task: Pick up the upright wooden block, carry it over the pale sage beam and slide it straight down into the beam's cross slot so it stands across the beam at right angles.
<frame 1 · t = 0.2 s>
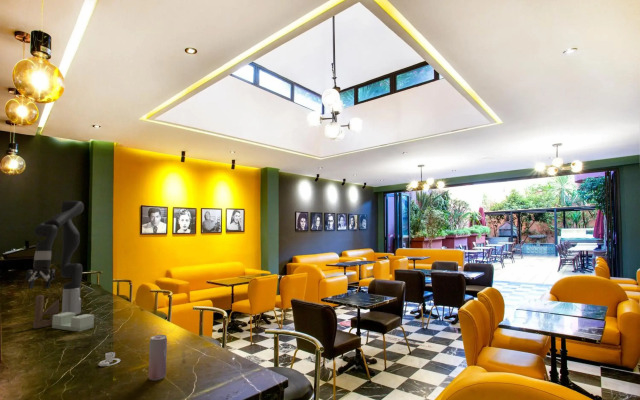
hand: (39, 288, 187), 23 cm above the countertop, tool pointing down, fingers open, 8 cm apart
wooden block: (45, 326, 193), on the countertop
beverage can: (157, 378, 127), on the countertop
slotted beam: (72, 327, 190), on the countertop
teacup and saucer: (100, 365, 140), on the countertop
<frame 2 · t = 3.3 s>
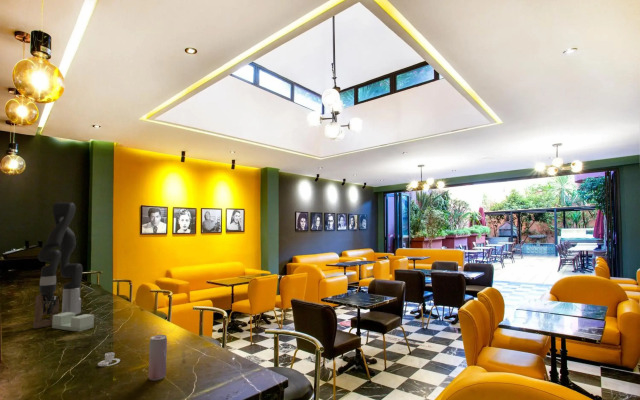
hand: (46, 313, 194), 7 cm above the countertop, tool pointing down, fingers closed on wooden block, 4 cm apart
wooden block: (45, 326, 193), on the countertop, touching gripper
everything else where it was.
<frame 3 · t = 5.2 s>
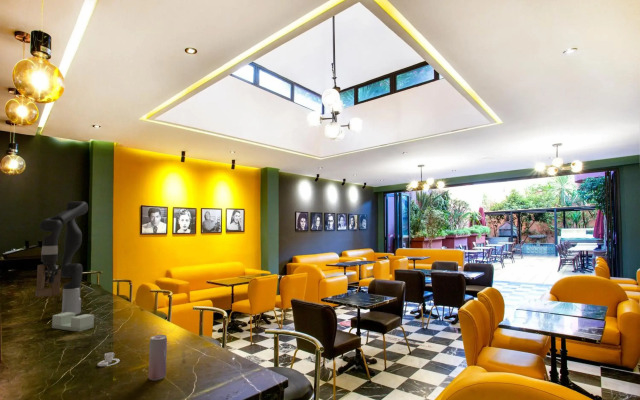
hand: (48, 282, 195), 25 cm above the countertop, tool pointing down, fingers closed on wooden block, 4 cm apart
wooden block: (47, 295, 195), point 17 cm above the countertop, touching gripper
everything else where it was.
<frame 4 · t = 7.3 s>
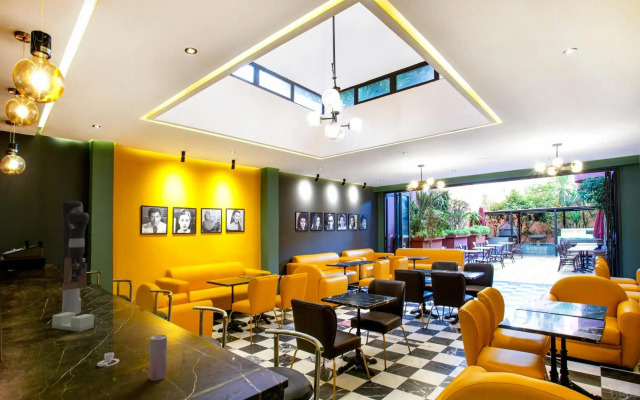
hand: (75, 275, 193), 29 cm above the countertop, tool pointing down, fingers closed on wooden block, 4 cm apart
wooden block: (74, 289, 192), point 22 cm above the countertop, touching gripper
everything else where it was.
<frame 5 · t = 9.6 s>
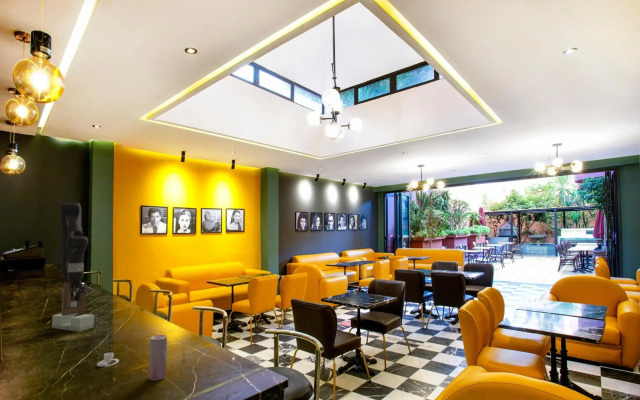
hand: (74, 300, 192), 15 cm above the countertop, tool pointing down, fingers closed on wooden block, 4 cm apart
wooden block: (73, 313, 191), point 8 cm above the countertop, touching gripper
everything else where it was.
when the fingers open (10 cm above the countertop, at t = 11.6 s): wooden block stays where it is, resting on slotted beam.
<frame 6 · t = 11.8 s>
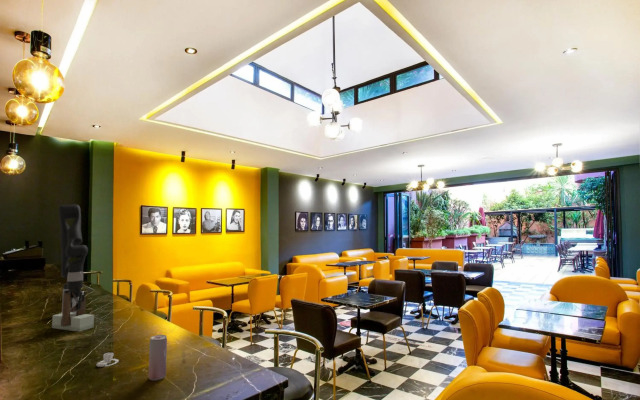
hand: (73, 309, 191), 10 cm above the countertop, tool pointing down, fingers open, 6 cm apart
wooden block: (72, 324, 191), point 2 cm above the countertop, touching slotted beam
everything else where it was.
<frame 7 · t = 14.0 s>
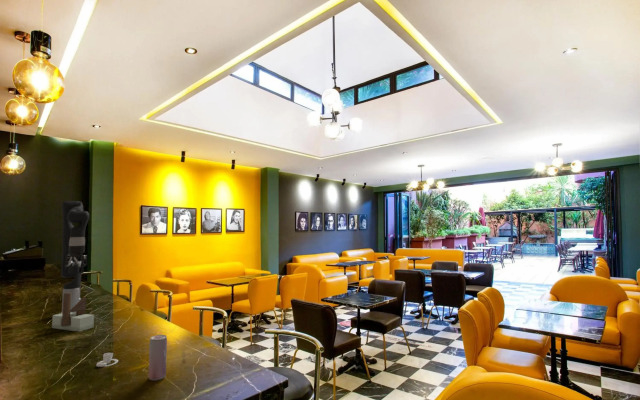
hand: (75, 273, 193), 31 cm above the countertop, tool pointing down, fingers open, 8 cm apart
nothing on the countertop moved.
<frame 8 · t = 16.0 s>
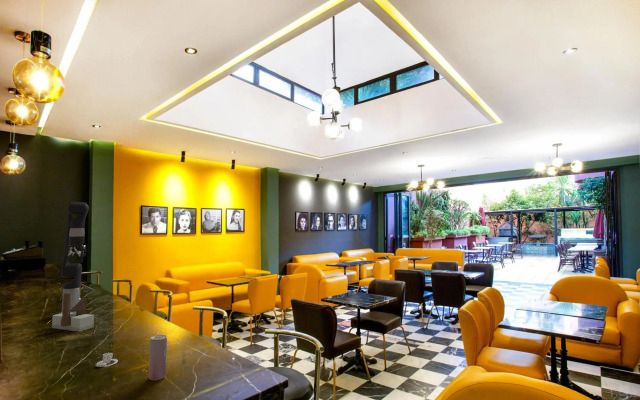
hand: (75, 262, 202), 36 cm above the countertop, tool pointing down, fingers open, 8 cm apart
nothing on the countertop moved.
at the end: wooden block 0.3 cm off-centre on the slotted beam, point 1.8 cm above the slotted beam's base; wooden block tilted 0°; the gripper is holding nothing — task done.
